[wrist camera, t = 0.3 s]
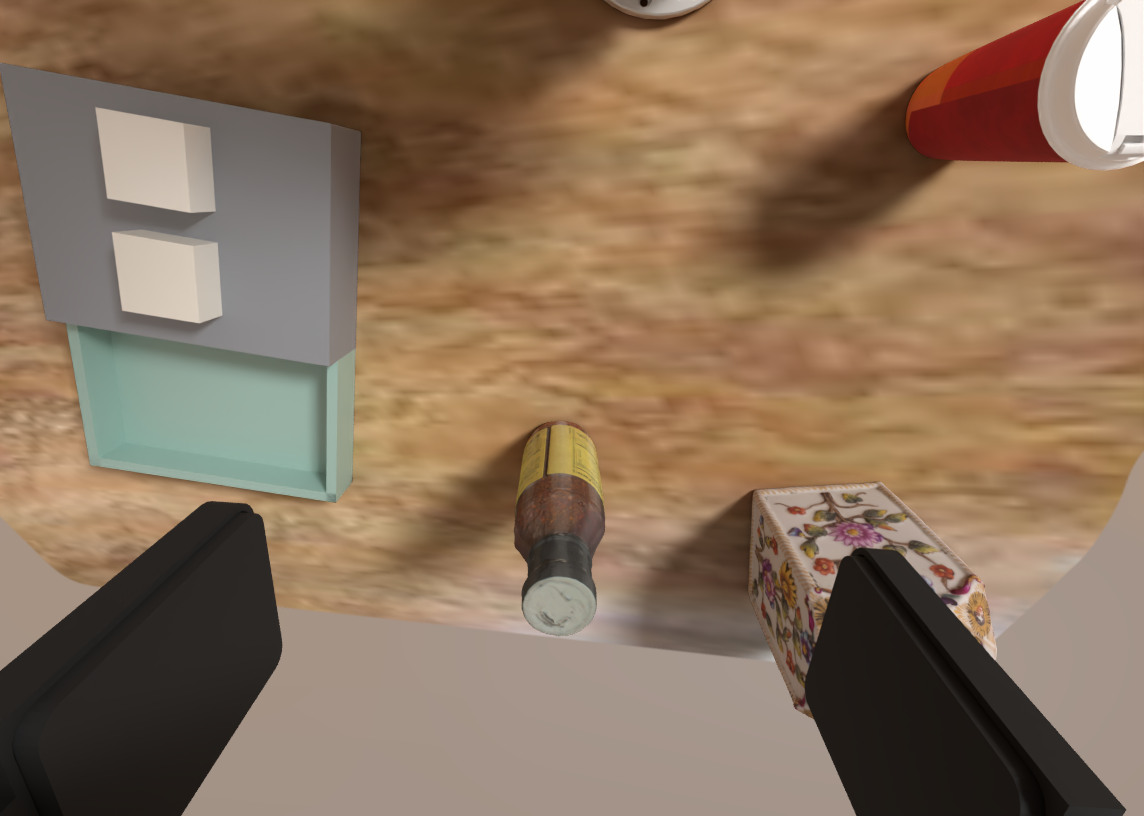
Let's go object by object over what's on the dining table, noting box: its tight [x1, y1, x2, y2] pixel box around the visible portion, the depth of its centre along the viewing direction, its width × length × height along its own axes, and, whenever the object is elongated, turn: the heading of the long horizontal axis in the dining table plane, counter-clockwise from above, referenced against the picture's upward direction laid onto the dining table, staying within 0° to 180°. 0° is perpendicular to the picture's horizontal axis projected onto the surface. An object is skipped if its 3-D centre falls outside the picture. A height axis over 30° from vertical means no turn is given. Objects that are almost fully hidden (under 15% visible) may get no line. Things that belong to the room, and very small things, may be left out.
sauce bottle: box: [514, 421, 605, 636], centre depth 39 cm, size 7×6×20 cm
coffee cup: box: [905, 0, 1144, 170], centre depth 31 cm, size 8×8×15 cm
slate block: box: [0, 63, 361, 366], centre depth 39 cm, size 16×20×5 cm
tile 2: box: [112, 230, 222, 323], centre depth 37 cm, size 5×5×2 cm
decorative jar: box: [748, 482, 997, 719], centre depth 42 cm, size 12×12×18 cm
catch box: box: [66, 323, 356, 503], centre depth 45 cm, size 12×20×4 cm, turn 80°
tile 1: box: [95, 107, 216, 213], centre depth 34 cm, size 5×5×2 cm
